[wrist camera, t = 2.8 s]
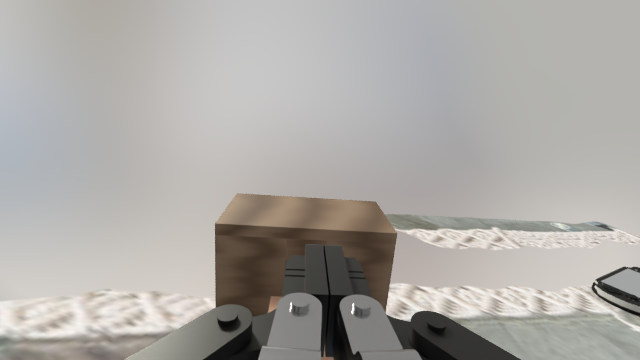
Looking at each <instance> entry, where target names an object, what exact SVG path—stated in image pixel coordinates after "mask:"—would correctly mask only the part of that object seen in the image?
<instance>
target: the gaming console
mask: <svg viewBox="0 0 640 360" xmlns="http://www.w3.org/2000/svg"><path fill="white" fill-rule="evenodd" d="M592 290H593V291H594V292H595V293H596V294H597V295H598V296H599V297H600V298H602V299H603V300H605V301H607V302H609V303H611V304H613V305H615V306H617V307H619V308H621V309H623V310H626V311H628V312H631V313H634V314H637V315H640V268H638V267H632V268H628V267H622V268H620V269H617V270H615V271H613V272H610V273H608V274H606V275H604V276H602V277H600V278H597V279H596V280H595V282H594V283H593V285H592Z"/></svg>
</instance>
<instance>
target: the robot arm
mask: <svg viewBox="0 0 640 360" xmlns="http://www.w3.org/2000/svg"><path fill="white" fill-rule="evenodd" d="M324 345H325V357H333V358H334V360H521V359H519V358H517V357H515V356H514V355H512V354H510V353H508V352H507V351H505V350H503V349H501V348H500V347H498V346H496V345H494V344H493V343H491V342H489V341H488V340H486V339H484V338H482V337H481V336H479V335H477V334H475V333H474V332H472V331H470V330H468V329H467V328H465V327H463V326H461V325H460V324H458V323H456V322H455V321H453V320H451V319H449V318H448V317H446V316H444V315H442V314H439V313H436V312H431V311H420V312H417V313H415V314H414V315H413V316H412V318H411V322H407V321H403V320H399V319H395V318H392V317H390V316H388V315H386V313H385V311H384V309H383V307H382V305H381V304H380V303H379V302H378V301H377V300H375V299H373V298H372V295H371V293H370V290H369V287H368V284H367V281H366V279H365V275H364V273H363V269H362V266H361V264H360V263H359V262H358V261H357V260H356V259H355V258H350V257H344V254H343V250H342V246H341V245H324V247H323V245H318V244H305V256H299V255H292V256H291V257H290V258H289V259H288V260H287V261H286V268H285V277H284V285H283V293H282V298H281V299H280V301H279V302H278V305H277V308H276V309H275V310H273V311H271V312H269V313H267V314H264V315H259V316H254V317H252V313H251V312H250V311H249V309H247V308H246V307H244V306H241V305H235V304H228V305H223V306H219V307H216V308H214V309H212V310H211V311H209V312H207V313H205V314H204V315H202V316H200V317H198V318H197V319H195V320H193V321H191V322H190V323H188V324H186V325H184V326H183V327H181V328H179V329H177V330H175V331H174V332H172V333H170V334H168V335H167V336H165V337H163V338H161V339H160V340H158V341H156V342H154V343H153V344H151V345H149V346H147V347H146V348H144V349H142V350H140V351H139V352H137V353H135V354H133V355H132V356H130V357H128V358H126V359H125V360H321V357H324Z"/></svg>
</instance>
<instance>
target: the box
mask: <svg viewBox="0 0 640 360" xmlns="http://www.w3.org/2000/svg"><path fill="white" fill-rule="evenodd" d="M396 238H397V232H396V231H395V229H394V228H393V226H392V225H391V224H390V222H389V221H388V219H387V218H386V216H385V215H384V213H383V212H382V210H381V209H380V208H379V206H378V205H377V203H376V202H370V201H354V200H337V199H320V198H304V197H287V196H271V195H254V194H236V196H235V197H234V198H233V200H232V201H231V203H230V204H229V205H228V207H227V208H226V209H225V211H224V212H223V214H222V215H221V216H220V218H219V219H218V220H217V222H216V223H215V262H216V263H215V270H216V273H215V274H216V307H219V306H223V305H228V304H235V305H241V306H244V307H246V308H247V309H249V311H250V312H251V313H252V317H254V316H259V315H264V314H267V313H268V310H269V304H270V298H271V296H279V297H282V293H283V285H284V277H285V268H286V261H287V260H288V259H289V258H290V257H291V256H292V255H299V256H305V244H318V245H323V247H324V245H341V246H342V250H343V254H344V257H350V258H355V259H356V260H357V261H358V262H359V263H360V264H361V266H362V269H363V273H364V275H365V279H366V281H367V284H368V287H369V290H370V293H371V295H372V298H373V299H375V300H377V301H378V302H379V303H380V304H381V305H382V307H383V309H384V311H385V312H386V305H387V298H388V292H389V285H390V278H391V271H392V264H393V257H394V251H395V244H396Z"/></svg>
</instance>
